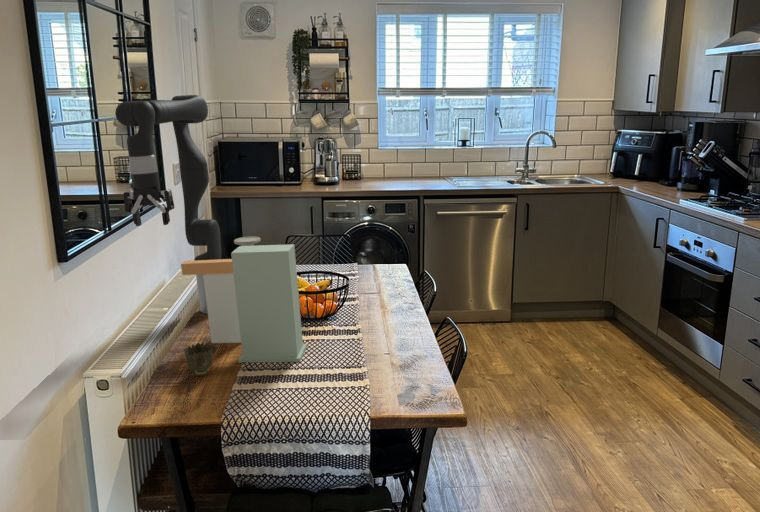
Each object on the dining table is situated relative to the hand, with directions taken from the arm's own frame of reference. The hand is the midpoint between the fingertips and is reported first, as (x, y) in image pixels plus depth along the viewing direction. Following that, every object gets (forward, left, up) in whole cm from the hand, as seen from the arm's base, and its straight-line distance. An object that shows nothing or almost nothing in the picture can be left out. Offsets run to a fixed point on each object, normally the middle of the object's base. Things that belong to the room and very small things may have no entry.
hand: (152, 225), depth 185 cm
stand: (+11, +36, -38) cm, 53 cm away
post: (-1, +19, -38) cm, 42 cm away
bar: (-2, +20, -16) cm, 26 cm away
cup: (+24, +19, -38) cm, 49 cm away
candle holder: (-56, +11, -38) cm, 69 cm away
